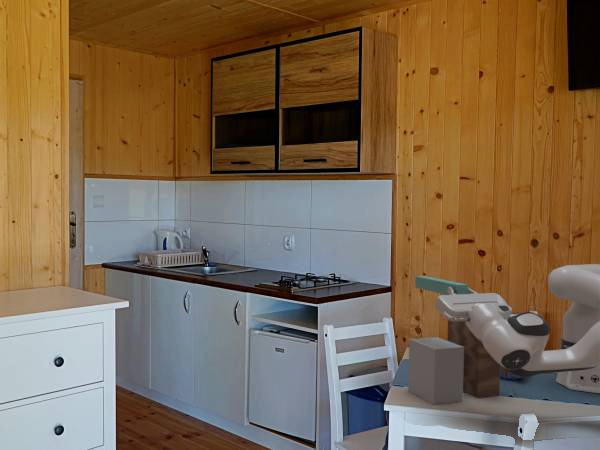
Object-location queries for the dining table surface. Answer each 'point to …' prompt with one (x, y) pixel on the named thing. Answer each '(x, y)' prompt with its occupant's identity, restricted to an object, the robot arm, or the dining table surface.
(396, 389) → the dining table surface
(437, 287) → the batten
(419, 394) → the base block
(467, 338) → the walnut stand
